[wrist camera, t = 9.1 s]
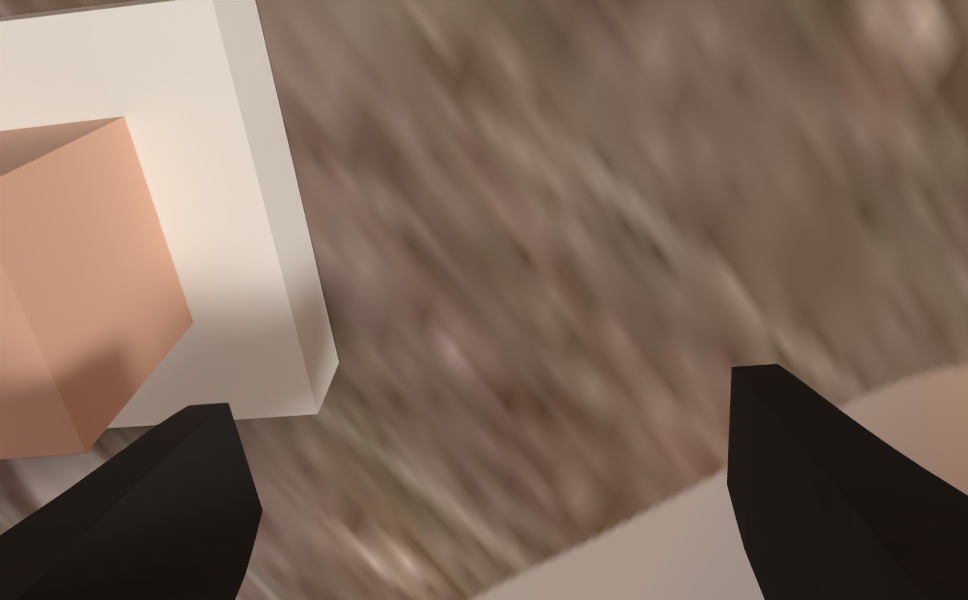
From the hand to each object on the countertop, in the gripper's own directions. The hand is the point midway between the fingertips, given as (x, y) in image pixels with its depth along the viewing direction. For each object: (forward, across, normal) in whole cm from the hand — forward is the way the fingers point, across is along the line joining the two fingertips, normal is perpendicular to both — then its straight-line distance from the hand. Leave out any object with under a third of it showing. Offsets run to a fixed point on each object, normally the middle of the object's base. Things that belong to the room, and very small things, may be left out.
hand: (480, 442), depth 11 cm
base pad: (+9, +10, -1) cm, 14 cm away
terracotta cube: (+7, +10, -1) cm, 12 cm away
